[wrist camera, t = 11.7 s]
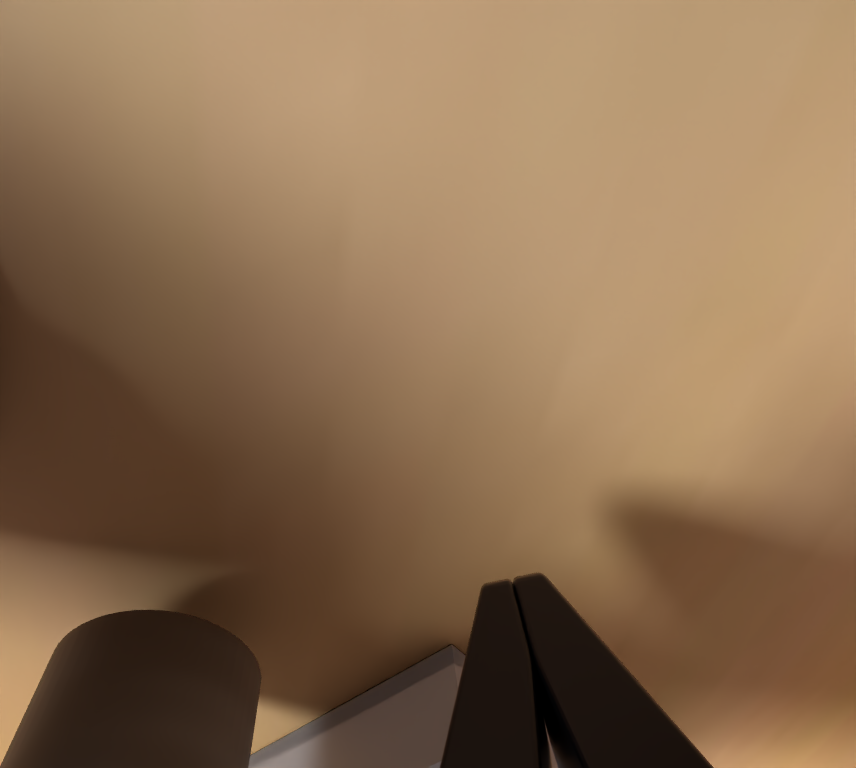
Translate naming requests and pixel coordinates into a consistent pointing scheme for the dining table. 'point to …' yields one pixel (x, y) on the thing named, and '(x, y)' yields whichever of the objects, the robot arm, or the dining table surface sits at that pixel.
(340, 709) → the tray
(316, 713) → the dining table surface
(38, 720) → the crank arm
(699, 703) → the dining table surface
